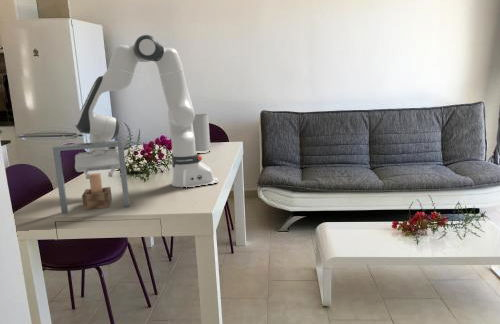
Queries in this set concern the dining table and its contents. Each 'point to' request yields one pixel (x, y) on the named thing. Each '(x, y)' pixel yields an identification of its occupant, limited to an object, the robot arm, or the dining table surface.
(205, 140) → the cylinder vase
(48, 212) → the dining table surface
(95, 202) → the walnut socket
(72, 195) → the dining table surface
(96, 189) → the terracotta peg
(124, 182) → the grey arch frame
